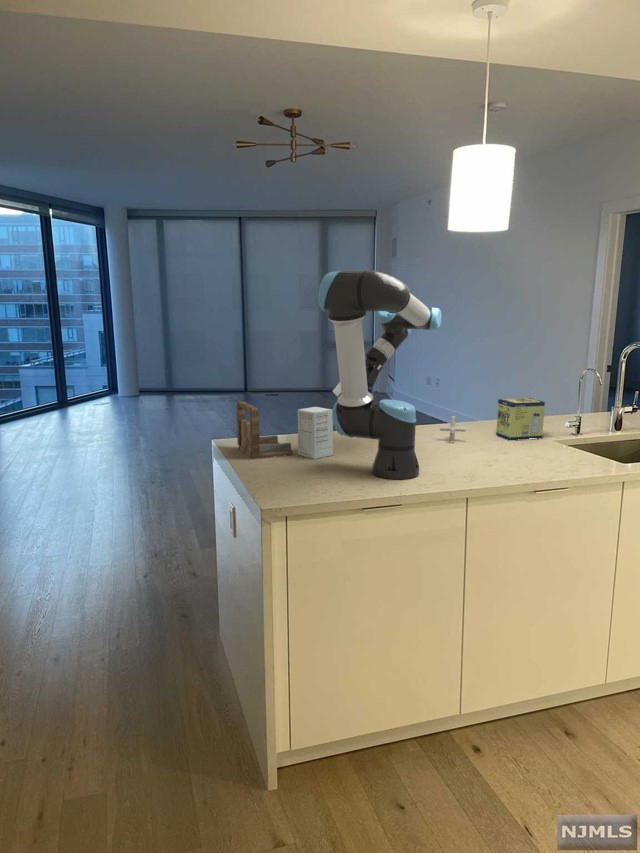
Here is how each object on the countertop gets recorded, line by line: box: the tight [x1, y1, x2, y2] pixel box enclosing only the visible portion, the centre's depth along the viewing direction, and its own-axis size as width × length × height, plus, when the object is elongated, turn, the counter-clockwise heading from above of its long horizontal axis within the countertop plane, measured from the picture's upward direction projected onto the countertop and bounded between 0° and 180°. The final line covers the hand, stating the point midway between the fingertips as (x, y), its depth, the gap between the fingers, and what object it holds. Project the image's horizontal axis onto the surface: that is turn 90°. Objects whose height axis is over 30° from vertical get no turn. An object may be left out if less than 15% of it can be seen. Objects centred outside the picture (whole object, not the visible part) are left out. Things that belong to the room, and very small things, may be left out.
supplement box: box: [297, 406, 334, 460], centre depth 215 cm, size 10×9×17 cm
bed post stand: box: [236, 400, 294, 460], centre depth 220 cm, size 18×15×18 cm
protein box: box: [495, 397, 546, 441], centre depth 246 cm, size 10×16×16 cm
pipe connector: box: [439, 416, 467, 442], centre depth 239 cm, size 10×10×10 cm
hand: (343, 396), depth 218 cm, fingers open, 13 cm apart
